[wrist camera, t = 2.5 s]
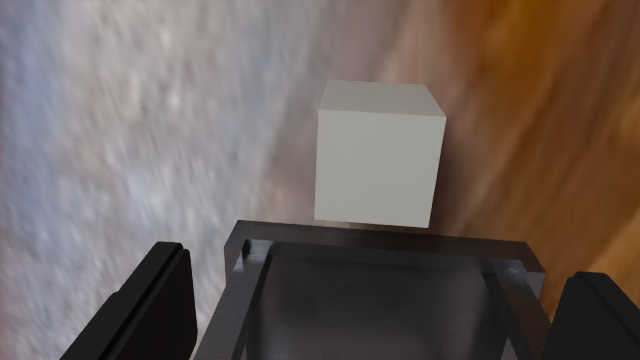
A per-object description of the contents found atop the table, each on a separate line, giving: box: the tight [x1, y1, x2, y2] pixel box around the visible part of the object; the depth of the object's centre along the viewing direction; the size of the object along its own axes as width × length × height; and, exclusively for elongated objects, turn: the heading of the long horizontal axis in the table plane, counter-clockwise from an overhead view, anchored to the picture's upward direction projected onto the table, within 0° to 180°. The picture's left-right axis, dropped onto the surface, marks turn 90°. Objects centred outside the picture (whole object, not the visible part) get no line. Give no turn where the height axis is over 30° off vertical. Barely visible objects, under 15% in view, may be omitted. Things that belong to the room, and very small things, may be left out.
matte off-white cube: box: [314, 80, 446, 228], centre depth 20 cm, size 5×5×6 cm
